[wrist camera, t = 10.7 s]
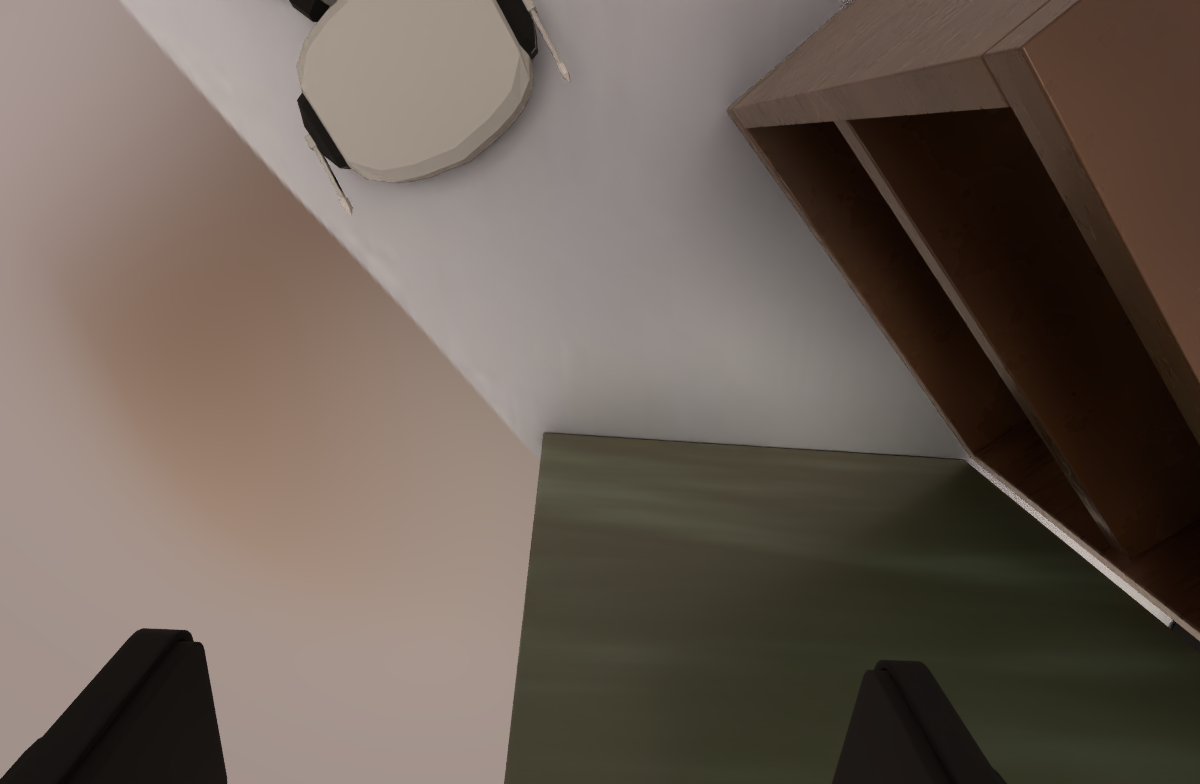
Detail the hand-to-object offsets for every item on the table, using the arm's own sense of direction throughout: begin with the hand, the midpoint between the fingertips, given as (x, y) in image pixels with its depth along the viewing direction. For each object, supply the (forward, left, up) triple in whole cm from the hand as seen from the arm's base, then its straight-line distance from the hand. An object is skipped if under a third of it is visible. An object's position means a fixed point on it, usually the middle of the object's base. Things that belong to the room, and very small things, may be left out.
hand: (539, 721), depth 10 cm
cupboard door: (0, +18, -30) cm, 34 cm away
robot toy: (-2, -16, -30) cm, 34 cm away
